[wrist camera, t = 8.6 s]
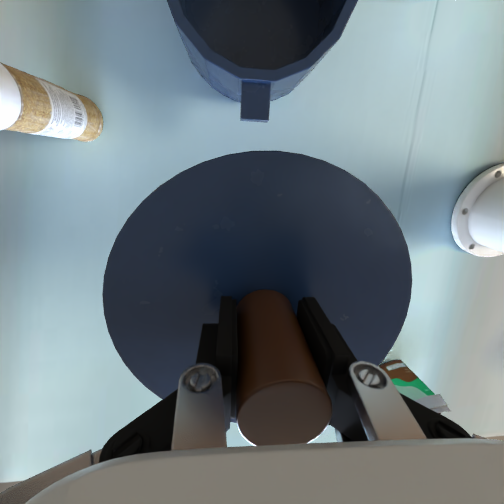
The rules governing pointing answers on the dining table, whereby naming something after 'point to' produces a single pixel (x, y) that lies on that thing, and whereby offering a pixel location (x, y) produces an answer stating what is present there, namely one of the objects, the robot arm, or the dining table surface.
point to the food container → (413, 386)
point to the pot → (258, 44)
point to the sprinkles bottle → (45, 108)
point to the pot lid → (257, 281)
